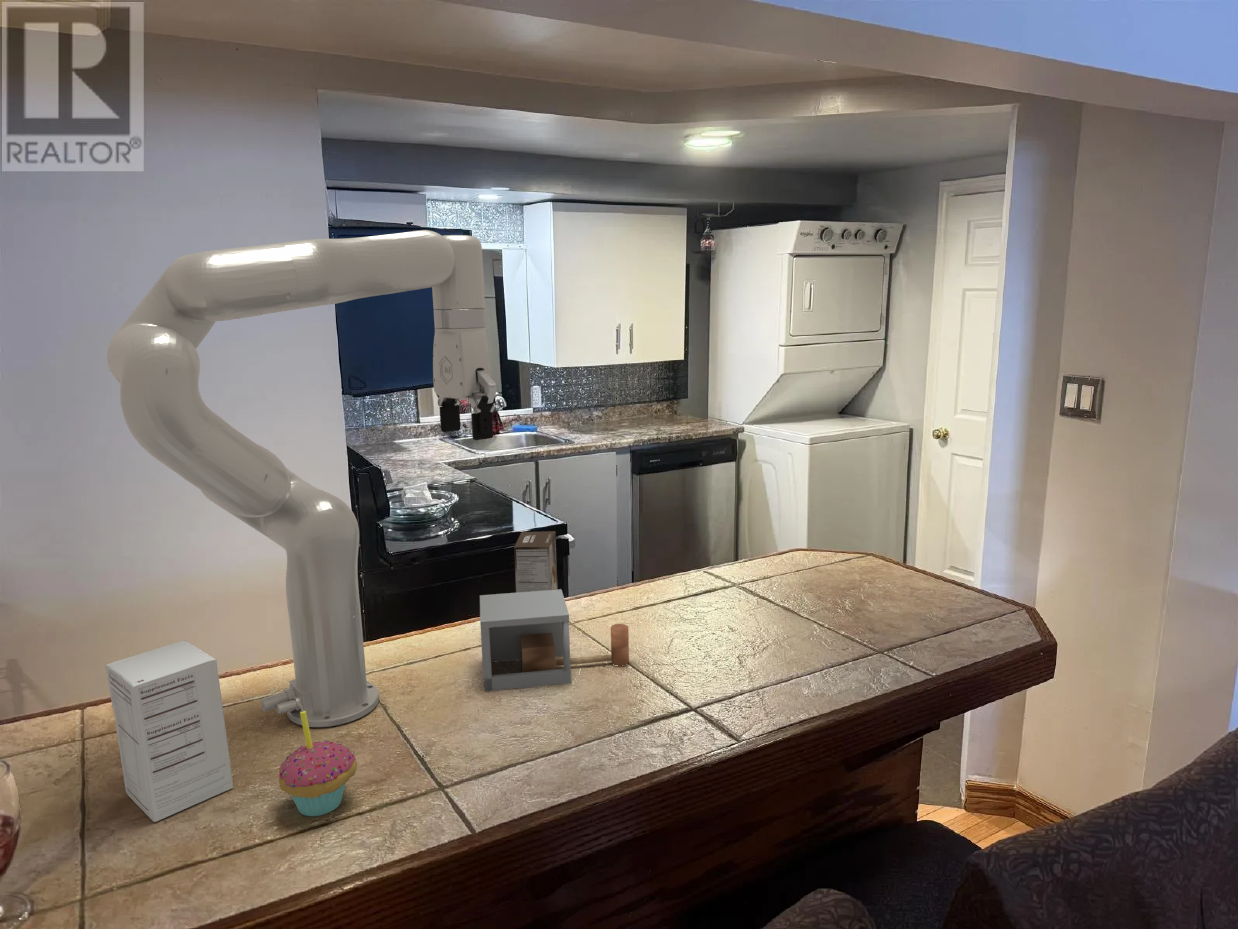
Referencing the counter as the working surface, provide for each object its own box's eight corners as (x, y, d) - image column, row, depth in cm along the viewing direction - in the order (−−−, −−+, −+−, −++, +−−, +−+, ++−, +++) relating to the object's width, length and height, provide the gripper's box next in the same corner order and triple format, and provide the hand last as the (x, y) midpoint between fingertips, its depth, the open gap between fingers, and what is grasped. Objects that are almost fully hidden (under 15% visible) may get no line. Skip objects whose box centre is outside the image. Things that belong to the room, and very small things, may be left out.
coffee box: (524, 615, 152) (520, 530, 149) (559, 614, 152) (556, 530, 149) (517, 635, 143) (513, 546, 140) (554, 635, 143) (551, 545, 140)
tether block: (523, 679, 127) (521, 642, 126) (521, 665, 132) (519, 629, 131) (631, 668, 130) (631, 633, 129) (626, 655, 135) (625, 620, 134)
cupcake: (266, 810, 96) (255, 715, 93) (328, 775, 103) (319, 685, 100) (313, 836, 91) (303, 737, 89) (375, 797, 98) (366, 704, 96)
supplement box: (235, 788, 100) (219, 658, 97) (153, 825, 94) (133, 687, 90) (202, 760, 107) (186, 637, 103) (123, 792, 100) (103, 662, 96)
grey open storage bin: (484, 691, 123) (480, 622, 121) (483, 659, 134) (479, 595, 132) (571, 683, 126) (568, 614, 123) (563, 652, 136) (561, 589, 134)
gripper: (410, 321, 128) (418, 431, 131) (466, 323, 115) (473, 445, 118) (454, 319, 132) (460, 425, 136) (513, 321, 119) (518, 439, 123)
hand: (466, 434), depth 127 cm, fingers open, 9 cm apart
